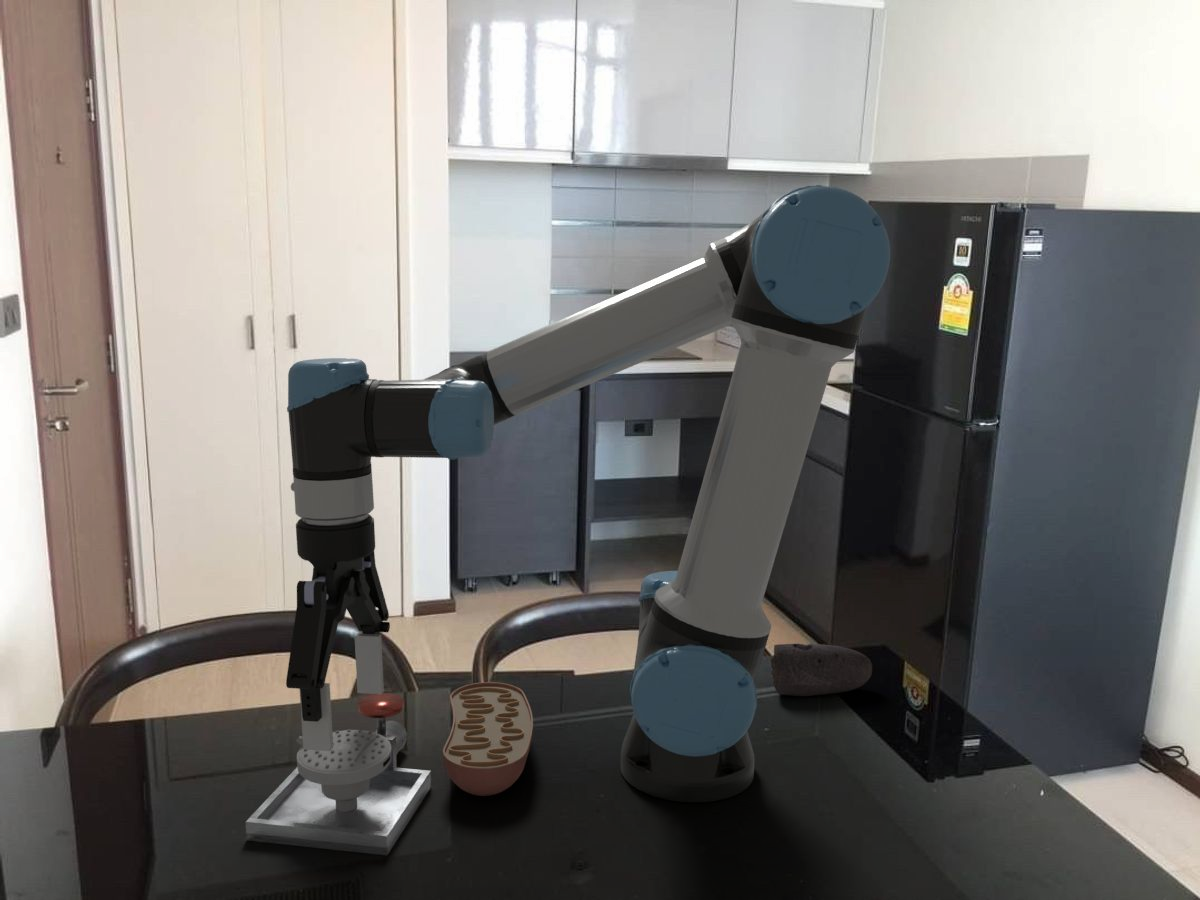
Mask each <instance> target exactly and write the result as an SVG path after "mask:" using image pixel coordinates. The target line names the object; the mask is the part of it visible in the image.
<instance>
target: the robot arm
mask: <svg viewBox="0 0 1200 900" xmlns="http://www.w3.org/2000/svg"><path fill="white" fill-rule="evenodd" d="M890 260H891V248H890V240H889V235H888V231H887V230H886V227H885V225H884V222H883V221H882V219H881V217H880V215H879V214H878V213H877V211H876V210H875V209H874V208H873V206H871V205H870V204H869V203H868V202H867V201H866V200H865V199H863V198H862V197H861V196H859V195H857V194H856V193H854V192H852V191H849V190H846V189H843V188H840V187H836V186H825V185H820V184H816V185H807V186H803V187H798V188H795V189H792V190H790V191H789V192H787V193H785V194H783V195H782V196H780V197H779V198H777V199H776V200H775V201H774V202H773V203H772V204H770V205H769V207H768V208H767V210H764V212H763V213H761V214H760V215H759V216H758V217H756V218H754V219H753V220H752V221H750V222H748V224H746V225H744V226H743V227H741V228H739V229H738V230H736V231H734V232H732V233H730V234H728V235H726V236H725V237H722V238H719V239H718V240H715V241H713V242H711V243H709V245H708V247H707V250H706V252H705V254H704V256H703V257H701V258H699V259H696V260H694V261H692V262H690V263H687V264H685V265H682V266H681V267H678V268H676V269H673V270H671V271H668V272H666V273H664V274H662V275H660V276H657V277H655V278H653V279H650V280H648V281H646V282H644V283H641V284H639V285H637V286H634V287H632V288H630V289H627V290H625V291H624V292H621V293H618V294H616V295H614V296H612V297H609V298H607V299H605V300H602V301H600V302H598V303H596V304H593V305H591V306H588V307H586V308H584V309H581V310H579V311H578V312H575V313H573V314H571V315H568V316H566V317H563V318H561V319H559V320H557V321H554V322H552V323H549V324H547V325H545V326H543V327H541V328H539V329H536V330H534V331H532V332H530V333H527V334H525V335H523V336H520V337H517V338H516V339H513V340H512V341H509V342H506V343H503V344H502V345H500V346H498V347H494V348H493V349H491V350H488V351H487V352H485V353H483V354H480V355H477V356H475V357H472V358H470V359H467V360H465V361H463V362H461V363H457V364H454V365H452V366H450V367H447V368H445V369H443V370H441V371H440V372H438V373H436V374H433V375H430V376H428V377H425V378H423V379H403V380H401V379H400V380H397V379H396V380H384V379H375V378H373V379H372V378H370V375H369V373H368V370H367V365H366V362H364V361H363V360H361V359H359V358H345V357H344V358H343V357H342V358H341V357H334V358H333V357H330V358H329V357H327V358H314V359H313V358H312V359H305V360H299V361H297V362H295V363H293V364H292V366H291V367H290V368H289V370H288V373H287V376H288V377H287V382H288V384H287V385H288V386H287V391H288V393H287V400H288V401H287V407H286V412H287V413H288V423H289V436H290V448H291V459H292V462H291V463H292V475H293V481H292V482H291V485H290V490H291V491H292V492H293V495H294V508H295V509H294V511H295V514H296V516H298V517H299V519H298V521H297V522H296V523H295V532H296V551H297V555H298V557H299V558H300V559H302V560H303V561H305V562H306V561H307V562H308V563H310V564H311V565H312V566H313V569H312V577H311V580H299V581H297V584H296V610H295V616H294V617H295V618H294V625H293V631H292V632H293V633H292V637H291V645H290V653H289V660H288V667H287V671H286V672H287V673H286V674H287V675H286V682H285V684H286V685H285V686H286V687H287V689H297V690H299V698H300V699H299V701H300V713H301V714H300V715H301V717H300V718H301V733H302V735H301V736H302V737H303V749H305V750H320V751H331V750H332V749H333V733H332V732H333V717H332V704H331V703H332V701H331V688H330V687H331V686H330V685H331V684H330V683H329V682H326V678H327V673H328V670H329V666H330V661H331V657H332V652H333V648H334V644H335V640H336V635H337V630H338V626H339V623H340V622H342V621H343V620H345V616H346V612H348V614H349V615H350V618H351V619H352V621H353V623H354V625H355V627H356V629H357V630H358V632H359V633H358V632H357V633H356V634H355V635H354V646H355V647H354V649H355V650H354V651H355V653H354V654H355V670H356V672H355V673H356V686H357V687H356V689H357V694H369V695H372V694H382V693H385V692H384V690H385V688H384V667H383V650H382V649H383V647H382V646H383V645H382V634H381V633H389V632H390V627H391V624H390V623H391V622H390V621H388V620H389V618H390V614H389V609H388V605H387V602H386V599H385V594H384V591H383V588H382V584H381V581H380V577H379V573H378V570H377V566H376V558H375V556H376V555H375V549H376V535H375V533H376V532H375V519H374V517H373V516H372V515H371V514H370V513H371V512H373V510H374V508H375V501H374V487H373V486H374V483H373V472H372V471H373V470H372V462H371V461H372V458H422V459H423V458H426V459H427V458H431V459H433V458H434V459H440V458H441V459H447V460H450V461H451V460H457V459H461V458H479V457H482V456H484V455H486V454H487V453H488V452H489V450H490V448H491V445H492V442H493V441H492V440H493V438H494V432H495V431H494V429H495V428H494V427H495V425H497V424H499V423H502V422H504V421H506V420H509V419H511V418H513V417H515V416H517V415H519V414H523V413H524V412H527V411H529V410H532V409H533V408H537V407H538V406H541V405H544V404H546V403H549V402H551V401H553V400H555V399H558V398H560V397H562V396H565V395H567V394H569V393H572V392H575V391H577V390H579V389H581V388H584V387H586V386H589V385H591V384H593V383H596V382H598V381H601V380H603V379H605V378H608V377H611V376H612V375H615V374H617V373H620V372H622V371H624V370H626V369H629V368H632V367H634V366H635V365H638V364H641V363H644V362H646V361H648V360H651V359H653V358H656V357H658V356H660V355H662V354H665V353H668V352H670V351H672V350H674V349H676V348H679V347H681V346H684V345H686V344H688V343H691V342H693V341H697V339H700V338H702V337H705V336H707V335H711V334H713V333H714V332H716V331H717V332H718V331H720V330H722V329H724V328H727V327H729V326H733V328H734V329H735V331H736V333H737V335H738V337H739V339H740V346H739V349H738V354H737V357H736V360H735V364H734V368H733V371H732V375H731V379H730V383H729V386H728V390H727V392H726V397H725V400H724V404H723V407H722V410H721V414H720V418H719V421H718V426H717V429H716V431H715V432H716V433H715V436H714V439H713V443H712V446H711V450H710V453H709V458H708V461H707V464H706V468H705V471H704V475H703V478H702V479H703V480H702V483H701V487H700V490H699V494H698V496H697V502H696V505H695V507H694V512H693V515H692V519H691V522H690V526H689V528H688V533H687V537H686V539H685V543H684V547H683V552H682V554H681V557H680V561H679V565H678V568H677V570H668V571H667V570H665V571H658V572H653V573H650V574H648V575H646V576H645V577H644V578H643V579H642V581H641V582H640V592H639V595H638V598H637V599H638V602H639V621H638V623H639V624H638V627H639V628H638V637H637V638H638V639H637V645H636V646H637V647H636V653H635V658H634V659H635V661H634V667H633V668H634V669H633V672H632V673H633V674H632V678H631V681H630V684H629V694H630V696H629V699H630V703H631V705H632V706H631V707H632V711H633V714H632V717H631V721H630V723H629V725H628V727H627V731H626V734H625V736H624V738H623V741H622V742H623V743H622V745H621V747H620V748H621V749H620V773H621V775H622V776H623V778H624V779H625V781H626V782H628V784H629V785H631V786H632V787H634V788H636V789H637V790H639V791H640V792H643V793H645V794H647V795H649V796H652V797H655V798H659V799H663V800H667V801H673V802H680V803H708V802H709V803H710V802H716V801H722V800H725V799H729V798H732V797H734V796H737V795H739V794H740V793H742V792H744V791H745V790H747V789H748V788H749V787H750V786H751V784H752V782H753V780H754V777H755V753H754V751H753V745H752V743H751V740H750V736H749V732H748V730H749V728H750V727H751V725H752V722H753V720H754V717H755V713H756V710H757V706H758V703H757V702H758V701H757V698H758V693H757V687H756V681H757V677H758V675H759V674H758V672H759V670H760V666H761V663H762V660H763V657H764V653H765V649H766V647H767V643H768V639H769V636H770V633H771V629H772V624H771V622H770V619H769V617H768V616H767V614H766V613H765V611H764V609H763V607H762V605H763V604H762V603H763V600H764V597H765V593H766V590H767V587H768V583H769V581H770V577H771V574H772V569H773V567H774V563H775V559H776V556H777V553H778V549H779V546H780V543H781V540H782V536H783V534H784V533H783V532H784V529H785V526H786V523H787V520H788V516H789V512H790V510H791V509H790V508H791V506H792V502H793V499H794V496H795V492H796V489H797V485H798V483H799V479H800V475H801V472H802V469H803V466H804V461H805V459H806V455H807V451H808V448H809V446H810V445H809V444H810V441H811V439H812V434H813V431H814V427H815V425H816V421H817V418H818V415H819V412H820V408H821V405H822V401H823V397H824V395H825V394H824V393H825V390H826V387H827V384H828V381H829V377H830V374H831V371H832V367H833V366H835V365H836V364H837V363H838V362H840V361H842V360H843V359H845V358H847V357H848V356H850V355H852V354H853V353H854V352H855V349H856V345H857V343H858V338H859V336H860V333H861V330H862V325H863V323H864V319H865V316H866V313H867V309H868V307H869V306H870V305H871V303H873V301H874V300H875V298H876V297H877V295H878V294H879V293H880V292H881V291H880V290H881V288H882V287H883V286H884V284H885V281H886V278H887V275H888V272H889V267H890V262H891V261H890ZM360 632H362V633H360Z"/></svg>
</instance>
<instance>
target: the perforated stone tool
mask: <svg viewBox="0 0 1200 900" xmlns="http://www.w3.org/2000/svg"><path fill="white" fill-rule="evenodd" d="M871 661H872V660H871V659H870V658H869V657H868V656H866V655H865V654H863V653H862V652H859V651H858V650H854V649H852V648H848V647H845V646H838V645H831V644H820V643H819V644H818V643H808V644H804V643H802V644H801V643H785V644H784V643H783V644H781V643H780V644H774V647H773V655H772V657H771V658H770V663H771V668H772V670H771V671H770V673H771V675H772V682H773V683H772V685H773V687H774V689H775V691H776V693H777V694H778V695H783V696H794V697H810V696H820V695H823V696H826V695H831V694H839V693H846V692H850V691H854V690H856V689H858V688H861V687H862V686H863V685H865V684H866V683H867V682H869V679H870V678H871V677H872V674H873V663H872V662H871Z"/></svg>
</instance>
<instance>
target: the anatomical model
mask: <svg viewBox="0 0 1200 900" xmlns="http://www.w3.org/2000/svg"><path fill="white" fill-rule="evenodd" d="M449 703H450V709H451V713H452V727H451V730H450V734H449V736H448V738H447V740H446V743H445V744H444V746H443V749H442V759H443V764H444V767H445V770H446V772H447V774H448V776H449V779H450V780H451V781H452V782H453V784H455V785H456V786H457V787H458V788H459V789H461V791H464V792H465V793H468V794H471V795H474V796H479V797H488V796H493V795H497V794H500V793H502V792H504V791H506V790H507V789H508V788H510V787H511V786H512V785H514V783H516V781H517V780H518V779H519V778H520V776H521V775H522V773H523V771H524V769H525V765H526V762H527V758H528V755H529V752H530V749H531V744H532V739H533V732H534V720H533V711H532V708H531V706H530V703H529V700H528V699H527V696H526V694H525V693H524V691H523V689H521V688H520V687H517V686H515V685H512V684H508V683H504V682H495V681H487V682H485V681H483V682H476V683H475V682H474V683H471V684H470V683H469V684H466V685H463V686H461V687H458V688H457V689H455V690H454V691H451V693H450V695H449Z"/></svg>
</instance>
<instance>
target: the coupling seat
mask: <svg viewBox="0 0 1200 900" xmlns="http://www.w3.org/2000/svg"><path fill="white" fill-rule="evenodd" d="M357 704H358V705H357V706H358V709H357V710H358V713H359V714H360V715H362V716H363V717H366V718H371V719H376V730H375V731H374V733H377V734H380V735H382V736H384V737H385V738H386V739H387V740H388V741H389V742H390V744H391V762H390V764H389V766H388V767H387V768H386V769H385V770H384V771H383V772H381V773H380V774H378V775H377V776H375V777H373V778H370V786H369V789H368V790H367V792H366V793H364V794H363V795H361V796H359V797H357V807H356V808H355V809H354V810H352V811H348V812H341V811H338V810H337V809H336V800H333V799H330V798H327V797H326V796H325V795H324V794H323V793H322V787H321V784H317V783H314V782H311V781H309V780H306V779H305V778H303V777H302V776H301V775H300V774H299V772H298V768H297V767H295V769H294V770H293V771H292V772H291V773H290V774H289V775H288V776H287V778H284V780H283V781H282V783H280V784H279V786H278V787H277V788H276V789H275V790H274V791H273V792H272V793H271V794H270V795H269V796H268V797H267V798H266V800H265V801H263V803H262V804H260V806H259V807H258V808H257V809H256V810H255V811H254V812H253V813H252V814H251V815H250V816H249V818H248V819H247V820H246V821H245V834H246V835H245V840H246V841H249V842H256V843H257V842H258V843H265V844H267V843H268V844H274V845H275V844H277V845H286V846H295V847H304V848H313V849H321V850H322V849H323V850H334V851H343V852H353V853H360V854H361V853H362V854H371V855H379V856H380V855H381V856H388V854H390V852H391V850H392V849H393V847H395V844H396V843H397V841H398V839H399V838H400V836H401V835H402V833H403V832H404V831H405V829H406V827H407V825H408V824H409V822H410V821H411V819H412V818H413V816H414V814H416V812H417V810H418V809H419V807H420V806H421V804H422V802H423V800H425V798H426V796H427V795H428V793H429V791H430V790H431V788H432V773H431V772H432V771H431V770H427V769H415V768H406V767H405V768H404V767H403V768H402V767H398V766H397V755H398V754H399V752H400V751H401V750H402V749H403V747H404V746H405V744H406V743H407V741H408V733H407V729H406V728H405V726H404V725H403V724H402V723H400V722H398V721H396V720H387V719H386V718H391V717H394V716H396V715H398V714H400V713H401V712H402V711H403V710H404V698H403V697H402V696H401V695H398V694H396V693H389V692H388V693H387V692H383V693H382V694H369V695H366V696H363V697H362V698H361V699H359V701H358V703H357Z"/></svg>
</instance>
